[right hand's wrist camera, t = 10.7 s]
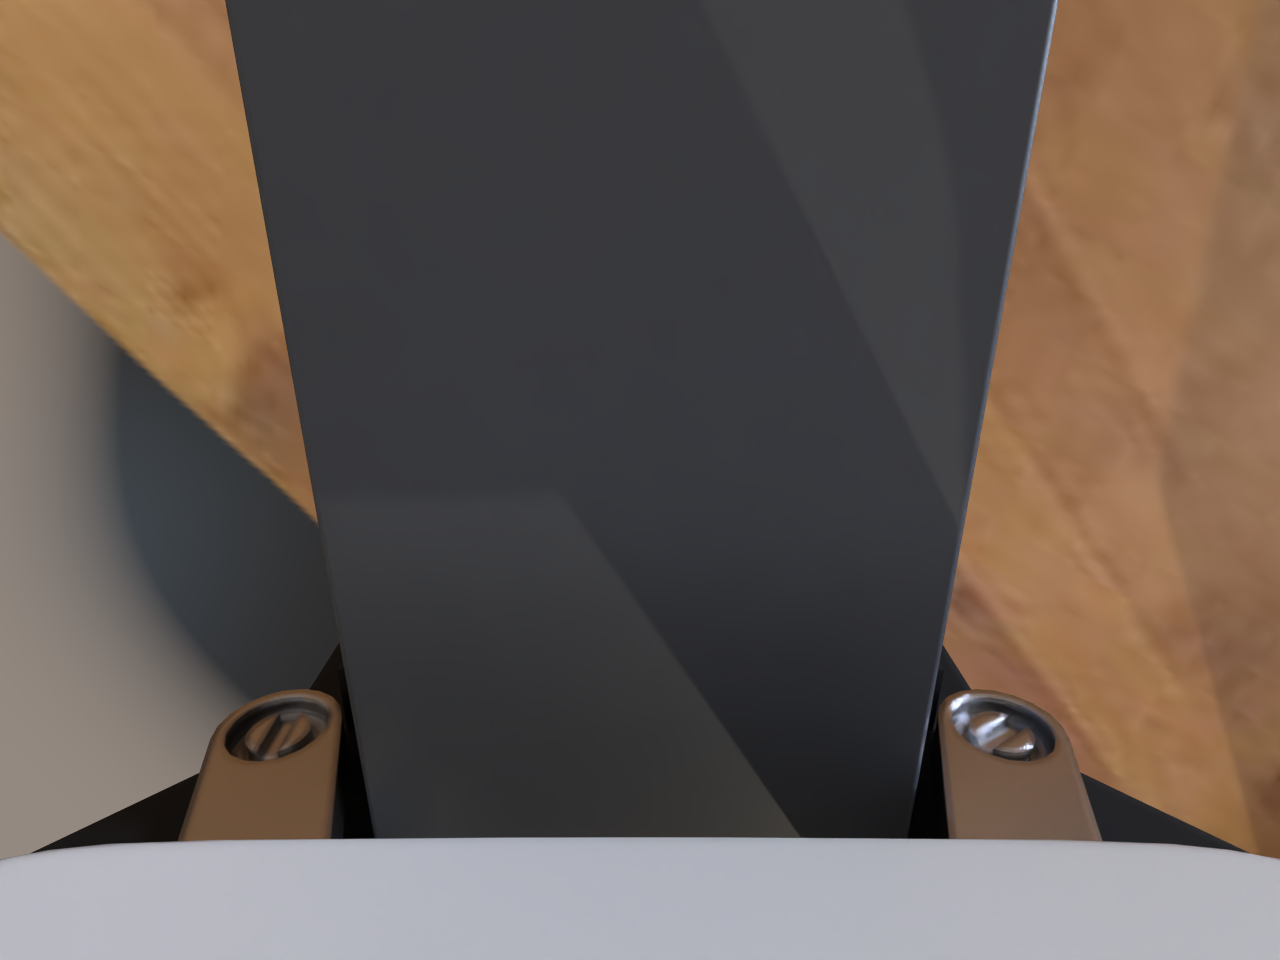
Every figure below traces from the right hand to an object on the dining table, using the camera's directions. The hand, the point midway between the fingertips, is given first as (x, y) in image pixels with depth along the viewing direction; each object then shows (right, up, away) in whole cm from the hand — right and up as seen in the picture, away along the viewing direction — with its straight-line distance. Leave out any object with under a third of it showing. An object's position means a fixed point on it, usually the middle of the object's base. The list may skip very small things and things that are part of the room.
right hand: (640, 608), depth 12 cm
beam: (0, +32, -10) cm, 33 cm away
